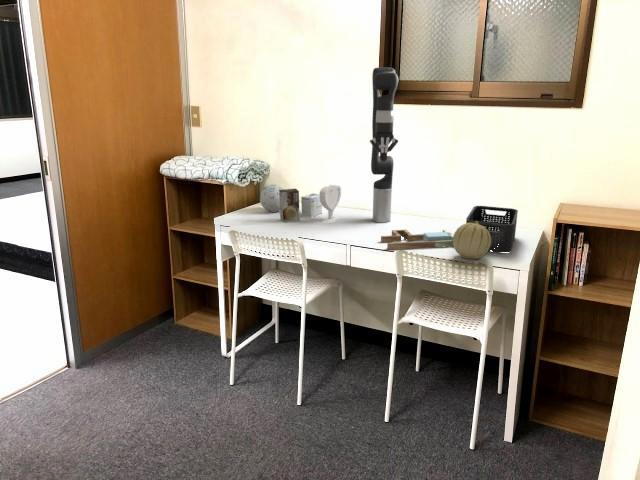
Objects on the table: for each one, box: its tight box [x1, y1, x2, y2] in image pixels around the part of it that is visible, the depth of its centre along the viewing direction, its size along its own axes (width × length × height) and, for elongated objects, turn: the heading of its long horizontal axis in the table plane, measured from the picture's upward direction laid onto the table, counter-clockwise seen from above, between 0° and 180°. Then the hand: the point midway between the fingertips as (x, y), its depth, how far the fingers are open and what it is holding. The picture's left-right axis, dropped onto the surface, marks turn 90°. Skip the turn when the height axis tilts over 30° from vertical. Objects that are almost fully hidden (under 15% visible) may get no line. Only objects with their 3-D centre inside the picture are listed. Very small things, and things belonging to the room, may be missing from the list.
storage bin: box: [465, 205, 519, 253], centre depth 223 cm, size 29×19×13 cm
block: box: [422, 231, 450, 241], centre depth 223 cm, size 6×10×4 cm, turn 96°
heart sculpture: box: [319, 184, 342, 224], centre depth 260 cm, size 16×5×18 cm, turn 147°
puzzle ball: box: [259, 184, 284, 213], centre depth 280 cm, size 15×15×15 cm
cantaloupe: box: [452, 221, 491, 260], centre depth 203 cm, size 15×15×15 cm
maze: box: [380, 229, 454, 251], centre depth 227 cm, size 21×30×4 cm
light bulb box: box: [300, 193, 323, 218], centre depth 273 cm, size 11×7×11 cm, turn 144°
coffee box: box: [279, 188, 301, 223], centre depth 261 cm, size 9×6×16 cm
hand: (383, 161), depth 224 cm, fingers closed
